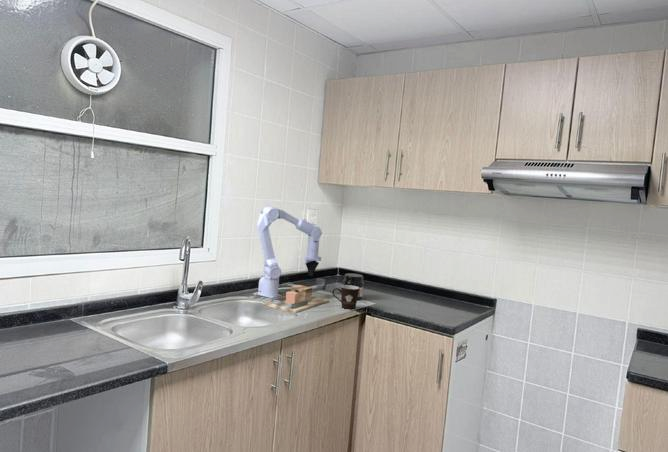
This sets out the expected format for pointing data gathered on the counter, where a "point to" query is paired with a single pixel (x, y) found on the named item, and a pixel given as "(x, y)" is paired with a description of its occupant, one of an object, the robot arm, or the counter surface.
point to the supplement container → (355, 282)
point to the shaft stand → (303, 303)
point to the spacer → (292, 297)
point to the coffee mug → (348, 296)
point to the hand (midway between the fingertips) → (310, 275)
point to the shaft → (317, 286)
